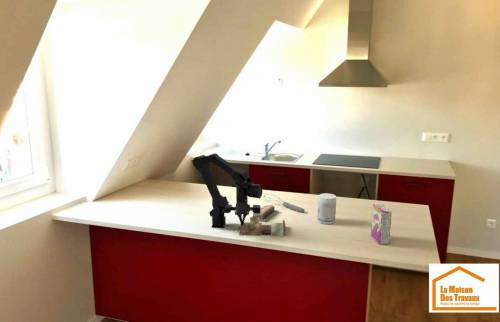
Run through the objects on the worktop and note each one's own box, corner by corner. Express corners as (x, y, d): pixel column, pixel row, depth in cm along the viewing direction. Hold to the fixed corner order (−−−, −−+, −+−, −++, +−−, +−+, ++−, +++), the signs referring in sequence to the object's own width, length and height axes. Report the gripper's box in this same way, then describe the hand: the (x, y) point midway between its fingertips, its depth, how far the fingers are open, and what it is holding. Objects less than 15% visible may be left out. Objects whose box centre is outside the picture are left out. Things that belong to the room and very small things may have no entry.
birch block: (250, 228, 189) (250, 220, 188) (250, 225, 193) (250, 217, 192) (258, 228, 189) (258, 220, 188) (259, 225, 193) (259, 217, 192)
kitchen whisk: (303, 215, 213) (303, 204, 212) (260, 202, 237) (260, 192, 235) (309, 212, 217) (309, 202, 216) (267, 200, 241) (267, 190, 240)
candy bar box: (369, 235, 185) (372, 203, 181) (379, 235, 185) (382, 203, 182) (379, 245, 174) (381, 211, 171) (389, 244, 174) (392, 211, 171)
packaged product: (265, 214, 201) (249, 212, 206) (265, 223, 202) (249, 220, 207) (278, 205, 217) (263, 202, 221) (278, 213, 218) (263, 210, 222)
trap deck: (239, 235, 186) (239, 228, 185) (241, 225, 198) (240, 219, 197) (285, 235, 185) (285, 229, 184) (284, 226, 196) (284, 220, 196)
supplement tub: (316, 218, 208) (317, 193, 205) (333, 218, 208) (334, 193, 205) (319, 224, 198) (320, 198, 195) (337, 224, 198) (338, 198, 195)
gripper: (221, 200, 180) (222, 230, 184) (260, 200, 179) (260, 231, 183) (224, 193, 191) (224, 222, 194) (260, 193, 190) (260, 222, 194)
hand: (242, 224), depth 191 cm, fingers closed
